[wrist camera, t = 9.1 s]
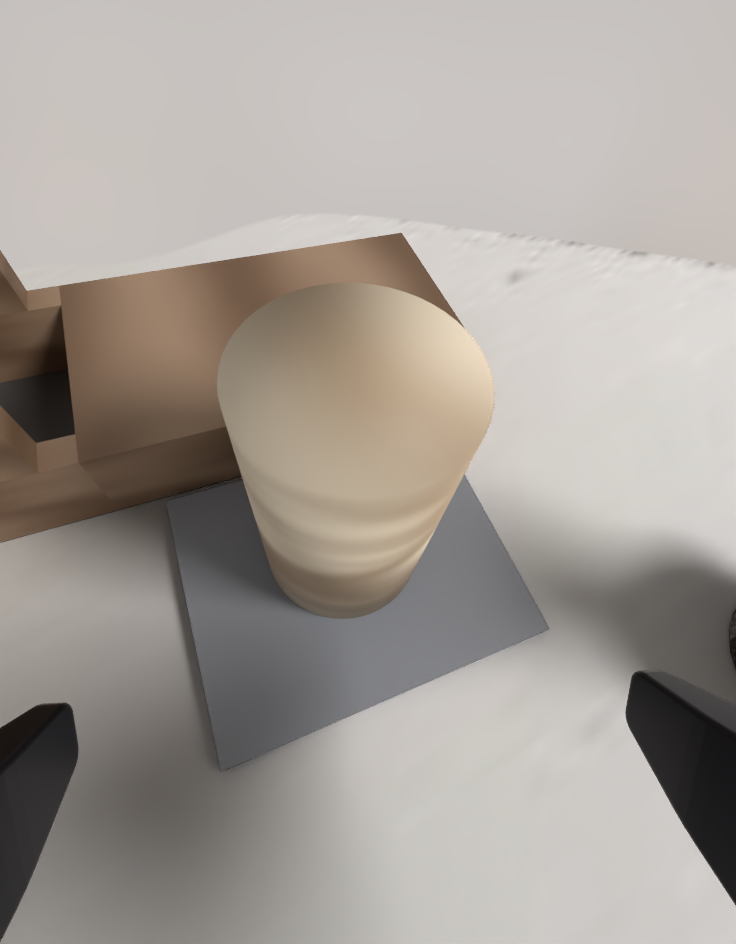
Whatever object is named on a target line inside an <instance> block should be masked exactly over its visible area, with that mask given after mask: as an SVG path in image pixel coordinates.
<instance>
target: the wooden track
mask: <svg viewBox="0 0 736 944" xmlns="http://www.w3.org/2000/svg"><path fill="white" fill-rule="evenodd" d="M331 283H364V284H373V285H379V286H384V287H389V288H393V289H396V290H400V291H403V292H406V293H409V294H411V295H414V296H417V297H419V298H421V299H423V300H425V301H427V302H429V303H431V304H433V305H435V306H436V307H438V308H440V309H441V310H443V311H444V312H446V313H447V314H448V315H450V316H451V317H452V318H454V319H455V320H456V321H457V322H458V323H459V324H461V325H462V323H461V322H460V320H459V319H458V317H457V316H456V314H455V313H454V311H453V310H452V308H451V307H450V305H449V304H448V302H447V301H446V299H445V298H444V296H443V295H442V293H441V292H440V290H439V289H438V287H437V286H436V284H435V283H434V281H433V280H432V278H431V277H430V275H429V274H428V272H427V271H426V269H425V268H424V266H423V265H422V263H421V262H420V260H419V259H418V257H417V256H416V254H415V253H414V251H413V250H412V248H411V246H410V245H409V243H408V242H407V240H406V239H405V237H404V236H403V234H402V233H397V234H391V235H385V236H378V237H372V238H365V239H359V240H352V241H346V242H339V243H333V244H326V245H320V246H314V247H307V248H301V249H294V250H288V251H281V252H275V253H268V254H262V255H256V256H249V257H243V258H236V259H230V260H223V261H217V262H210V263H204V264H197V265H191V266H185V267H178V268H172V269H165V270H159V271H152V272H146V273H139V274H133V275H127V276H120V277H114V278H107V279H101V280H94V281H88V282H81V283H75V284H68V285H62V286H56V287H49V288H43V289H36V290H30V291H26V289H25V288H24V286H23V285H22V283H21V281H20V280H19V278H18V277H17V275H16V274H15V272H14V271H13V269H12V268H11V266H10V265H9V263H8V262H7V260H6V258H5V257H4V255H3V254H2V252H1V251H0V543H1V542H4V541H8V540H12V539H15V538H19V537H22V536H26V535H30V534H33V533H37V532H41V531H44V530H48V529H51V528H55V527H59V526H62V525H66V524H70V523H73V522H77V521H80V520H84V519H88V518H91V517H95V516H99V515H102V514H106V513H109V512H113V511H117V510H120V509H124V508H128V507H131V506H135V505H138V504H142V503H146V502H149V501H153V500H156V499H160V498H164V497H167V496H171V495H175V494H178V493H182V492H185V491H189V490H193V489H196V488H200V487H204V486H207V485H211V484H214V483H218V482H222V481H225V480H229V479H233V478H236V477H240V476H242V475H241V472H240V469H239V466H238V463H237V459H236V456H235V453H234V450H233V447H232V443H231V440H230V437H229V434H228V431H227V427H226V424H225V421H224V418H223V414H222V411H221V407H220V403H219V399H218V392H217V375H218V367H219V364H220V360H221V357H222V353H223V351H224V349H225V347H226V345H227V343H228V341H229V340H230V338H231V337H232V335H233V334H234V332H235V331H236V329H237V328H238V327H239V326H240V325H241V324H242V323H243V322H244V321H245V320H246V319H247V318H248V317H249V316H250V315H252V314H253V313H254V312H255V311H256V310H258V309H259V308H261V307H262V306H264V305H266V304H267V303H269V302H270V301H272V300H275V299H277V298H279V297H281V296H283V295H285V294H288V293H291V292H293V291H296V290H299V289H303V288H307V287H311V286H317V285H323V284H331ZM462 326H463V325H462Z"/></svg>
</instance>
